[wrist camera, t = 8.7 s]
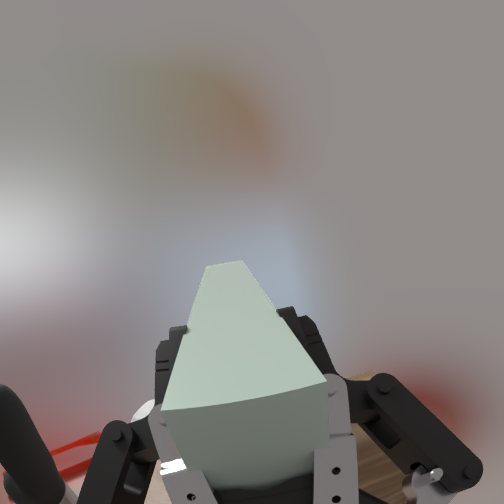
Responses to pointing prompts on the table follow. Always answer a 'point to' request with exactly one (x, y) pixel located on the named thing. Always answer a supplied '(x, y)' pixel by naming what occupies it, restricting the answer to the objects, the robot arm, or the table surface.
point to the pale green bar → (244, 388)
